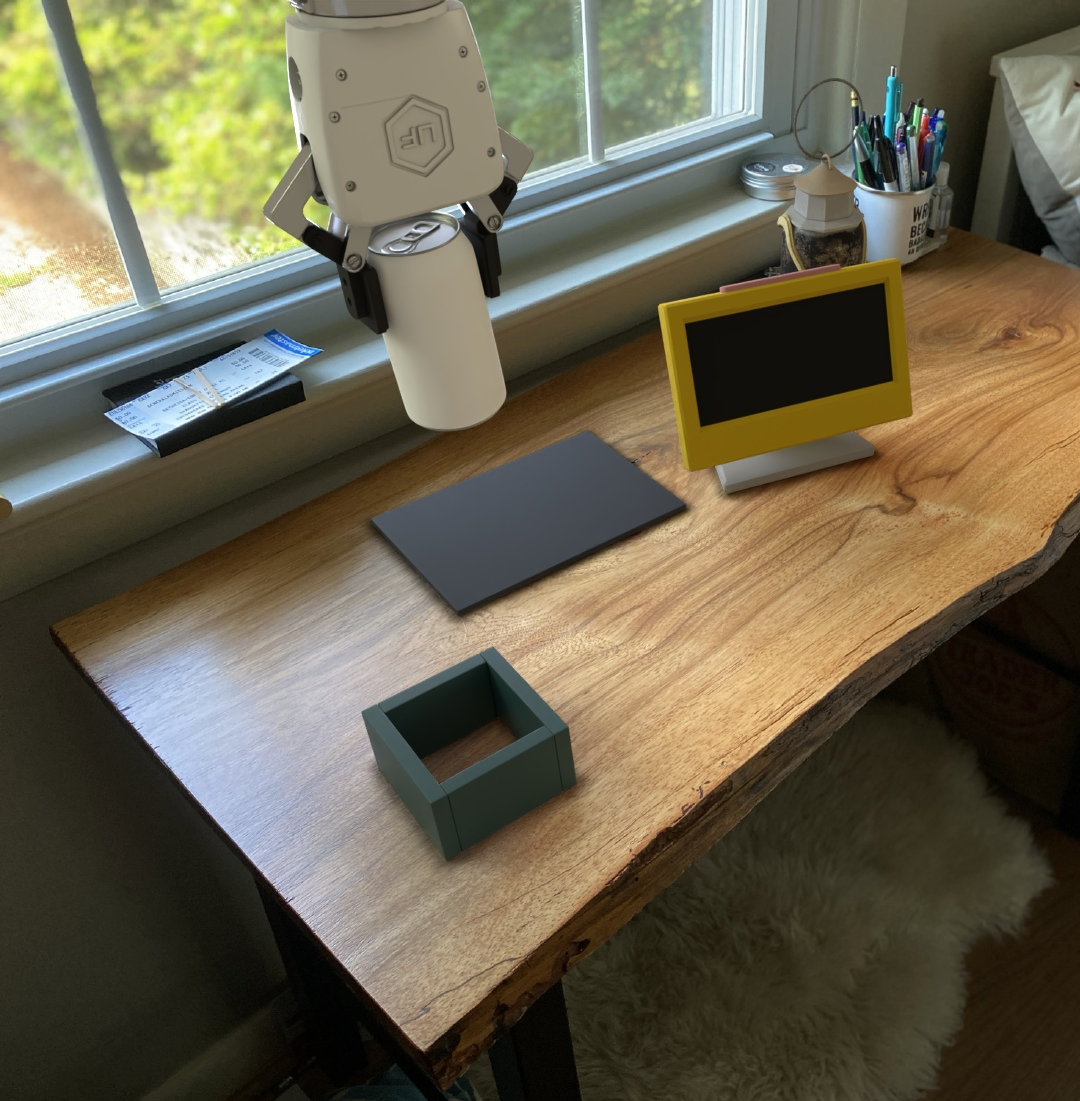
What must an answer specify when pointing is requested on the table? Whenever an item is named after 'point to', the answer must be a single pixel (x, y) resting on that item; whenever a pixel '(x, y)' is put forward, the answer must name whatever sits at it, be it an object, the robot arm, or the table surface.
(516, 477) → the mat
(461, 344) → the can
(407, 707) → the box
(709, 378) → the yellow framed monitor
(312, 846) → the table surface
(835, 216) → the lantern
